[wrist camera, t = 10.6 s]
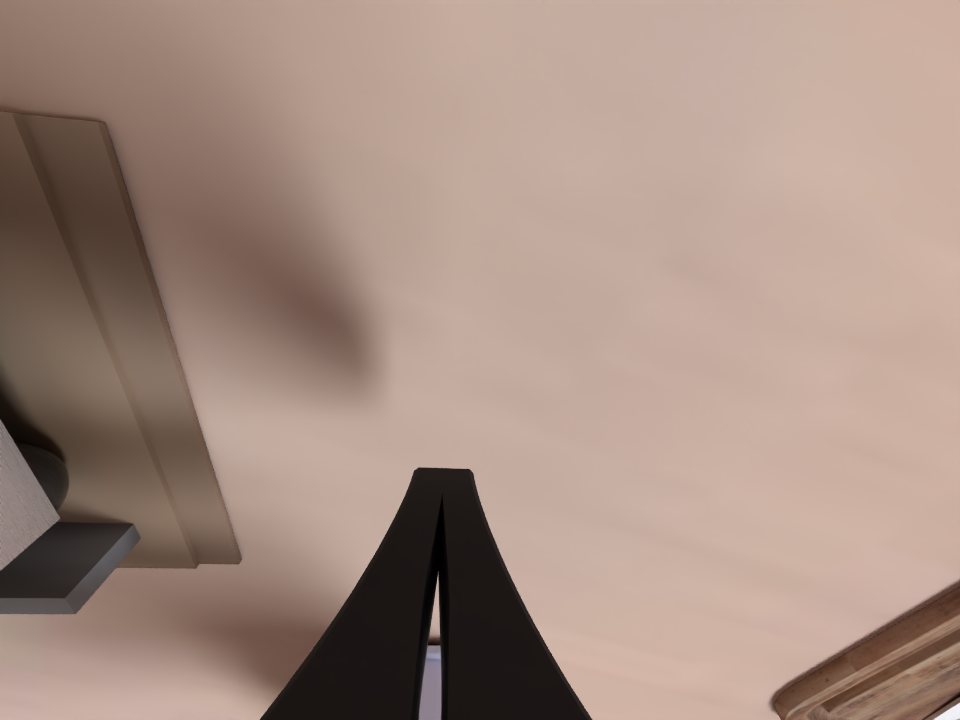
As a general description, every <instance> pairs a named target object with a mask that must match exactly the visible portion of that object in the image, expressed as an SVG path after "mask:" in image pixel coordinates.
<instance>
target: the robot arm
mask: <svg viewBox="0 0 960 720" xmlns="http://www.w3.org/2000/svg"><path fill="white" fill-rule="evenodd" d="M438 574H439V611H440V645H436V646H428V640H429V633H430V626H431V619H432V612H433V605H434V598H435V591H436V584H437V577H438ZM260 720H592V719H591V717H590V715H589V714H588V712H587V711H586V709H585V708H584V706H583V705H582V703H581V702H580V700H579V698H578V697H577V695H576V694H575V692H574V691H573V689H572V688H571V686H570V684H569V683H568V681H567V680H566V678H565V676H564V674H563V673H562V671H561V669H560V668H559V666H558V664H557V663H556V661H555V659H554V657H553V656H552V654H551V652H550V651H549V649H548V647H547V645H546V644H545V642H544V640H543V638H542V637H541V635H540V633H539V631H538V629H537V628H536V626H535V624H534V622H533V620H532V618H531V616H530V615H529V613H528V611H527V609H526V607H525V605H524V603H523V601H522V599H521V597H520V595H519V593H518V591H517V589H516V587H515V585H514V583H513V581H512V579H511V576H510V574H509V572H508V570H507V568H506V566H505V563H504V561H503V559H502V557H501V554H500V552H499V550H498V547H497V545H496V542H495V540H494V538H493V535H492V533H491V530H490V528H489V525H488V522H487V520H486V517H485V514H484V511H483V508H482V505H481V502H480V499H479V496H478V492H477V489H476V484H475V480H474V475H473V472H472V471H471V470H470V469H449V468H417V469H416V470H415V471H414V473H413V476H412V479H411V482H410V485H409V487H408V490H407V492H406V495H405V497H404V499H403V501H402V503H401V505H400V508H399V510H398V512H397V514H396V516H395V518H394V520H393V522H392V524H391V525H390V527H389V529H388V531H387V533H386V535H385V537H384V539H383V541H382V542H381V544H380V546H379V548H378V550H377V551H376V553H375V555H374V556H373V558H372V560H371V561H370V563H369V565H368V566H367V568H366V570H365V571H364V573H363V575H362V576H361V578H360V580H359V581H358V583H357V585H356V586H355V588H354V589H353V591H352V593H351V594H350V596H349V597H348V599H347V600H346V602H345V603H344V605H343V606H342V608H341V609H340V611H339V612H338V614H337V615H336V617H335V618H334V620H333V621H332V623H331V624H330V626H329V627H328V628H327V630H326V631H325V633H324V634H323V636H322V637H321V639H320V640H319V641H318V643H317V644H316V646H315V647H314V648H313V650H312V651H311V652H310V654H309V655H308V657H307V658H306V659H305V661H304V662H303V663H302V665H301V666H300V667H299V669H298V670H297V671H296V673H295V674H294V675H293V677H292V678H291V679H290V681H289V682H288V684H287V685H286V686H285V688H284V689H283V690H282V692H281V693H280V694H279V695H278V697H277V698H276V699H275V701H274V702H273V703H272V704H271V706H270V707H269V708H268V710H267V711H266V712H265V713H264V715H263V716H262V717H261V719H260Z"/></svg>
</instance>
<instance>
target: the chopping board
mask: <svg viewBox="0 0 960 720" xmlns="http://www.w3.org/2000/svg"><path fill="white" fill-rule="evenodd" d="M774 706H775V709H776V711H777V713H778V715H779V717H780V719H781V720H960V587H959V588H957V589H955V590H954V591H952V592H950V593H948V594H947V595H945V596H943V597H942V598H940V599H938V600H937V601H935V602H933V603H932V604H930V605H928V606H926V607H925V608H923V609H921V610H920V611H918V612H916V613H915V614H913V615H911V616H909V617H908V618H906V619H904V620H903V621H901V622H899V623H898V624H896V625H894V626H892V627H891V628H889V629H887V630H886V631H884V632H882V633H881V634H879V635H877V636H875V637H874V638H872V639H870V640H869V641H867V642H865V643H864V644H862V645H860V646H858V647H857V648H855V649H853V650H852V651H850V652H848V653H847V654H845V655H843V656H841V657H840V658H838V659H836V660H835V661H833V662H831V663H830V664H828V665H826V666H825V667H823V668H821V669H819V670H818V671H816V672H814V673H813V674H811V675H809V676H808V677H806V678H804V679H802V680H801V681H799V682H797V683H796V684H794V685H792V686H791V687H790V688H788V689H787V690H786V691H784V692H783V693H782V694H781V695H779V697H778V699H777V700H776V702H775V704H774Z"/></svg>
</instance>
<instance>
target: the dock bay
mask: <svg viewBox="0 0 960 720" xmlns="http://www.w3.org/2000/svg"><path fill="white" fill-rule="evenodd" d="M0 420H1V421H2V423H3V425H4V426H5V428H6V430H7V431H8V433H9V435H10V436H11V438H12V439H13V440H18V441H24V442H30V443H34V444H37V445H39V446H42V447H44V448H46V449H48V450H50V451H52V452H53V453H55V454H56V455H57V456H58V457H59V458H60V459H61V460H62V461H63V462H64V464H65V466H66V468H67V470H68V473H69V482H70V483H69V489H68V493H67V496H66V498H65V500H64V502H63V504H62V505H61V507H60V508H59V510H58V511H57V514H58V515H59V517H60V519H59V520H58V521H57V522H56V523H55V524H53V525H52V526H51V527H50V528H49V529H48V530H47V531H45V532H44V533H43V534H42V535H41V536H40V537H39V538H37V539H36V540H35V541H34V542H33V543H32V544H30V545H29V546H28V547H27V548H26V549H25V550H24V551H22V552H21V553H20V554H19V555H18V556H17V557H16V558H14V559H13V560H12V561H11V562H10V563H9V564H8V565H6V566H5V567H4V568H3V569H2V570H1V571H0V614H76V613H77V612H78V611H79V610H80V609H81V607H82V606H83V605H84V604H85V603H86V602H87V600H88V599H89V598H90V597H91V596H92V595H93V594H94V592H95V591H96V590H97V589H98V588H99V587H100V585H101V584H102V583H103V582H104V581H105V580H106V579H107V577H108V576H109V575H110V574H111V573H112V572H113V571H114V569H115V568H116V567H117V568H192V569H196V568H197V567H198V565H199V564H239V563H240V562H241V560H242V559H241V556H240V553H239V550H238V546H237V543H236V540H235V537H234V533H233V530H232V527H231V524H230V521H229V517H228V514H227V511H226V508H225V505H224V501H223V498H222V495H221V492H220V489H219V485H218V482H217V479H216V476H215V473H214V469H213V466H212V463H211V460H210V457H209V453H208V450H207V447H206V444H205V441H204V437H203V434H202V431H201V428H200V425H199V421H198V418H197V415H196V412H195V409H194V405H193V402H192V399H191V396H190V393H189V389H188V386H187V383H186V380H185V377H184V373H183V370H182V367H181V364H180V361H179V357H178V354H177V351H176V348H175V345H174V341H173V338H172V335H171V332H170V329H169V325H168V322H167V319H166V316H165V313H164V309H163V306H162V303H161V300H160V297H159V293H158V290H157V287H156V284H155V281H154V277H153V274H152V271H151V268H150V265H149V261H148V258H147V255H146V252H145V249H144V245H143V242H142V239H141V236H140V233H139V229H138V226H137V223H136V220H135V217H134V213H133V210H132V207H131V204H130V201H129V197H128V194H127V191H126V188H125V185H124V181H123V178H122V175H121V172H120V168H119V165H118V162H117V159H116V156H115V152H114V149H113V146H112V143H111V140H110V136H109V133H108V130H107V127H106V124H105V123H104V122H95V121H86V120H76V119H66V118H57V117H47V116H37V115H27V114H18V113H10V112H1V111H0Z"/></svg>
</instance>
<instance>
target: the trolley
mask: <svg viewBox="0 0 960 720" xmlns="http://www.w3.org/2000/svg"><path fill="white" fill-rule="evenodd" d="M69 483H70V482H69V473H68V470H67V468H66V466H65V464H64V462H63V461H62V460H61V459H60V458H59V457H58V456H57V455H56V454H55V453H53V452H52V451H50V450H48V449H46V448H44V447H42V446H39V445H37V444H34V443H30V442H24V441H18V440H13V439H12V438H11V436H10V435H9V433H8V431H7V430H6V428H5V426H4V425H3V423H2V421H1V420H0V571H1V570H2V569H3V568H4V567H5V566H6V565H8V564H9V563H10V562H11V561H12V560H13V559H14V558H16V557H17V556H18V555H19V554H20V553H21V552H22V551H24V550H25V549H26V548H27V547H28V546H29V545H30V544H32V543H33V542H34V541H35V540H36V539H37V538H39V537H40V536H41V535H42V534H43V533H44V532H45V531H47V530H48V529H49V528H50V527H51V526H52V525H53V524H55V523H56V522H57V521H58V520H59V519H60V517H59V515H58V514H57V511H58V510H59V508H60V507H61V505H62V504H63V502H64V500H65V498H66V496H67V493H68V489H69Z"/></svg>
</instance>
